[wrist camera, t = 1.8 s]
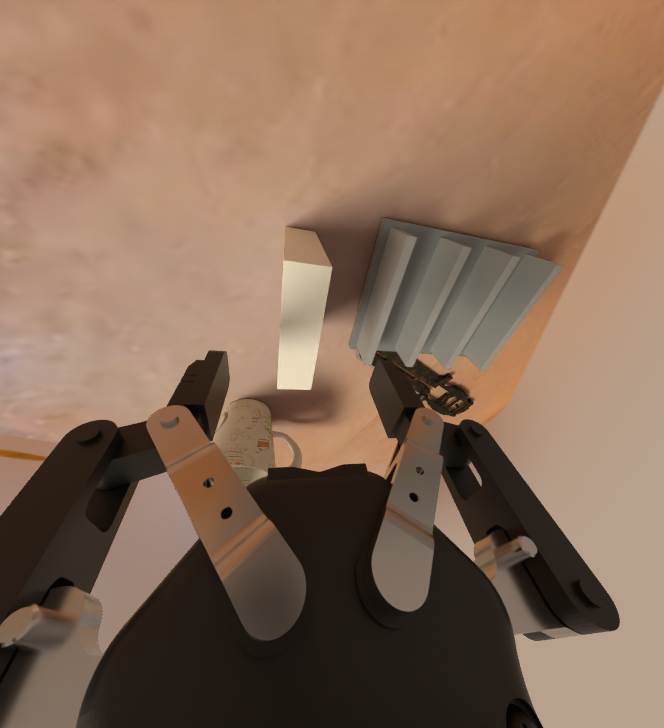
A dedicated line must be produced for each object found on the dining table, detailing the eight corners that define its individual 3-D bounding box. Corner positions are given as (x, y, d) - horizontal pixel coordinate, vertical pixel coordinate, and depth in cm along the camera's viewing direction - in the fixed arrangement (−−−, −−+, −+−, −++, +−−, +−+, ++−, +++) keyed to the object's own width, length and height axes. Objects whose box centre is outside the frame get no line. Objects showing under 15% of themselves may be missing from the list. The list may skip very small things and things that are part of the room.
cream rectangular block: (280, 322, 25) (277, 388, 17) (285, 226, 19) (283, 260, 12) (303, 324, 25) (310, 389, 18) (315, 231, 20) (332, 267, 12)
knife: (343, 345, 28) (345, 351, 27) (384, 307, 26) (388, 312, 25) (440, 418, 41) (444, 424, 40) (473, 397, 39) (479, 403, 38)
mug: (228, 384, 29) (206, 460, 21) (314, 410, 34) (322, 478, 27) (208, 423, 33) (183, 499, 25) (289, 441, 38) (289, 508, 31)
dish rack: (348, 343, 28) (357, 367, 24) (382, 217, 20) (402, 226, 16) (465, 352, 31) (486, 374, 28) (531, 248, 24) (573, 260, 20)
